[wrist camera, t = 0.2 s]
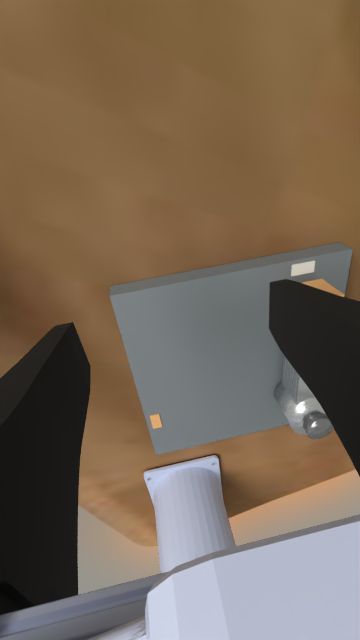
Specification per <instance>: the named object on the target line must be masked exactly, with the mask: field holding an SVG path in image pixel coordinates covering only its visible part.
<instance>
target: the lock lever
mask: <svg viewBox="0 0 360 640" xmlns="http://www.w3.org/2000/svg"><path fill="white" fill-rule="evenodd" d="M302 283H303V284H306V285H309V286H312V287H315V288H318V289H321V290H324V291H327V292H330V293H333V294H336V295H339V296H342V297H344V296H345V295H344V294H343V293H341V292H340V291H339V290H337V289H336V288H334V287H333V286H332V285H330V284H329V283H327V282H326V281H325V280H323V279H317V280H312V281H307V282H302ZM274 398H275V400H276V402H277V404H278V406H279V407H280V409H281V411H282V412H283V414H284V416H285V418H286V419H287V421H288V423H289V425H290V426H291V428H292V430H293V431H294V432H296V433H298V434H307V433H306V431H305V430H304V428H303V422H304V421H305V420H306V419H307V418H308V417H309V416H311V415H313V414H316V413H324V414H325V412H324V410H323V409H322V407H321V405H320V404H319V402H318V401H317V399H316V398H315V396H314V395H313V393H312V392H311V391H310V389H309V388H308V387H307V385H306V384H305V383H304V381H303V380H302V379H301V377H300V376H299V375H298V373H297V372H296V371H295V369H294V368H293V367H292V365H291V364H290V363H289V361H288V360H287V358H286V357H285V356H284V362H283V378H282V381H281V382H280V383H279V384H278V385H277V387H276V388H275V391H274Z"/></svg>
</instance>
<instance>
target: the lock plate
mask: <svg viewBox="0 0 360 640" xmlns="http://www.w3.org/2000/svg"><path fill="white" fill-rule="evenodd" d="M352 251H353V249H352V248H350V247H348V246H346V245H344V244H342V243H340V242H338V243H333V244H328V245H323V246H317V247H312V248H307V249H302V250H297V251H291V252H286V253H281V254H276V255H271V256H265V257H260V258H255V259H250V260H244V261H239V262H234V263H229V264H224V265H218V266H213V267H208V268H203V269H197V270H192V271H187V272H182V273H177V274H171V275H166V276H161V277H156V278H150V279H145V280H140V281H135V282H130V283H124V284H119V285H114V286H110V299H111V302H112V306H113V309H114V312H115V316H116V319H117V323H118V326H119V330H120V333H121V336H122V340H123V343H124V347H125V350H126V354H127V357H128V360H129V364H130V367H131V371H132V374H133V377H134V381H135V384H136V388H137V391H138V395H139V398H140V401H141V405H142V408H143V412H144V415H145V419H146V422H147V425H148V429H149V432H150V436H151V439H152V443H153V446H154V449H155V453H156V455H159V454H163V453H167V452H172V451H176V450H180V449H185V448H189V447H193V446H198V445H202V444H206V443H211V442H215V441H219V440H224V439H228V438H233V437H237V436H241V435H246V434H250V433H254V432H259V431H263V430H267V429H272V428H276V427H280V426H285V425H289V423H288V421H287V419H286V418H285V416H284V414H283V412H282V411H281V409H280V407H279V406H278V404H277V402H276V400H275V398H274V391H275V388H276V387H277V385H278V384H279V383H280V382H281V381H282V378H283V362H284V354H283V353H282V352H281V350H280V349H279V347H278V345H277V343H276V341H275V340H274V338H273V336H272V334H271V332H270V330H269V291H270V282H273V281H278V280H283V279H288V280H293V281H296V282H300V283H302V282H307V281H312V280H317V279H323V280H325V281H326V282H327V283H329V284H330V285H332V286H333V287H334V288H336V289H337V290H339V291H340V292H341V293H343V294H344V295H345V291H346V285H347V280H348V274H349V268H350V263H351V257H352ZM303 428H304V430H305V431H306V433H307V435H308V436H309V437H310V438H311V439H320V438H323V437H325V436H327V435H328V434H329V433H330V432H331V431H332V430H333V426H332V424H331V422H330V421H329V419H328V417H327V415H326V414H324V413H316V414H313V415H311V416H309V417H308V418H307V419H306V420H305V421H304V422H303Z"/></svg>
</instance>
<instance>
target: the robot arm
mask: <svg viewBox="0 0 360 640" xmlns="http://www.w3.org/2000/svg"><path fill="white" fill-rule="evenodd" d="M269 330H270V332H271V334H272V336H273V338H274V340H275V341H276V343H277V345H278V347H279V349H280V350H281V352H282V353H283V354H284V356H285V357H286V358H287V360H288V361H289V363H290V364H291V365H292V367H293V368H294V369H295V371H296V372H297V373H298V375H299V376H300V377H301V379H302V380H303V381H304V383H305V384H306V385H307V387H308V388H309V389H310V391H311V392H312V393H313V395H314V396H315V398H316V399H317V401H318V402H319V404H320V405H321V407H322V409H323V410H324V412H325V414H326V415H327V417H328V419H329V421H330V422H331V424H332V426H333V427H334V429H335V431H336V433H337V435H338V436H339V438H340V440H341V442H342V444H343V446H344V447H345V449H346V451H347V453H348V455H349V457H350V459H351V460H352V462H353V464H354V466H355V468H356V470H357V472H358V474H359V476H360V302H359V301H356V300H352V299H349V298H345V297H342V296H339V295H336V294H333V293H330V292H327V291H324V290H321V289H318V288H315V287H312V286H309V285H306V284H303V283H300V282H296V281H293V280H288V279H283V280H278V281H273V282H270V291H269ZM89 395H90V364H89V362H88V359H87V357H86V354H85V352H84V349H83V346H82V344H81V341H80V339H79V336H78V334H77V331H76V329H75V326H74V324H73V322H72V323H67V324H62V325H57V326H55V327H54V328H52V329H51V330H50V331H49V332H48V333H47V334H46V335H45V336H44V337H43V338H42V339H41V340H40V341H39V342H38V343H37V344H36V345H35V346H34V347H33V348H32V349H31V350H30V351H29V352H28V353H27V354H26V355H25V356H24V357H23V358H22V359H21V360H20V361H19V362H18V363H17V364H16V365H14V366H13V367H12V368H11V369H10V370H9V371H8V372H7V373H6V374H5V375H4V376H2V377H1V378H0V640H360V515H356V516H352V517H349V518H345V519H341V520H337V521H333V522H329V523H325V524H321V525H317V526H314V527H310V528H306V529H302V530H298V531H294V532H290V533H286V534H282V535H279V536H275V537H271V538H267V539H263V540H259V541H256V542H252V543H247V544H244V545H240V546H236V545H235V541H234V538H233V534H232V530H231V527H230V523H229V520H228V516H227V512H226V509H225V505H224V501H223V494H222V485H221V476H220V467H219V459H218V456H216V455H212V456H208V457H203V458H199V459H195V460H190V461H186V462H182V463H178V464H173V465H169V466H165V467H160V468H156V469H152V470H148V471H145V472H144V479H145V482H146V485H147V487H148V490H149V493H150V496H151V499H152V502H153V505H154V507H155V516H156V527H157V539H158V550H159V562H160V572H161V574H157V575H153V576H149V577H146V578H141V579H138V580H134V581H130V582H126V583H122V584H118V585H114V586H111V587H107V588H103V589H99V590H95V591H91V592H88V593H84V594H80V595H78V566H77V564H78V563H77V536H78V534H77V533H78V532H77V531H78V522H77V521H78V487H79V466H80V454H81V445H82V439H83V433H84V427H85V420H86V414H87V408H88V401H89Z"/></svg>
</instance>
